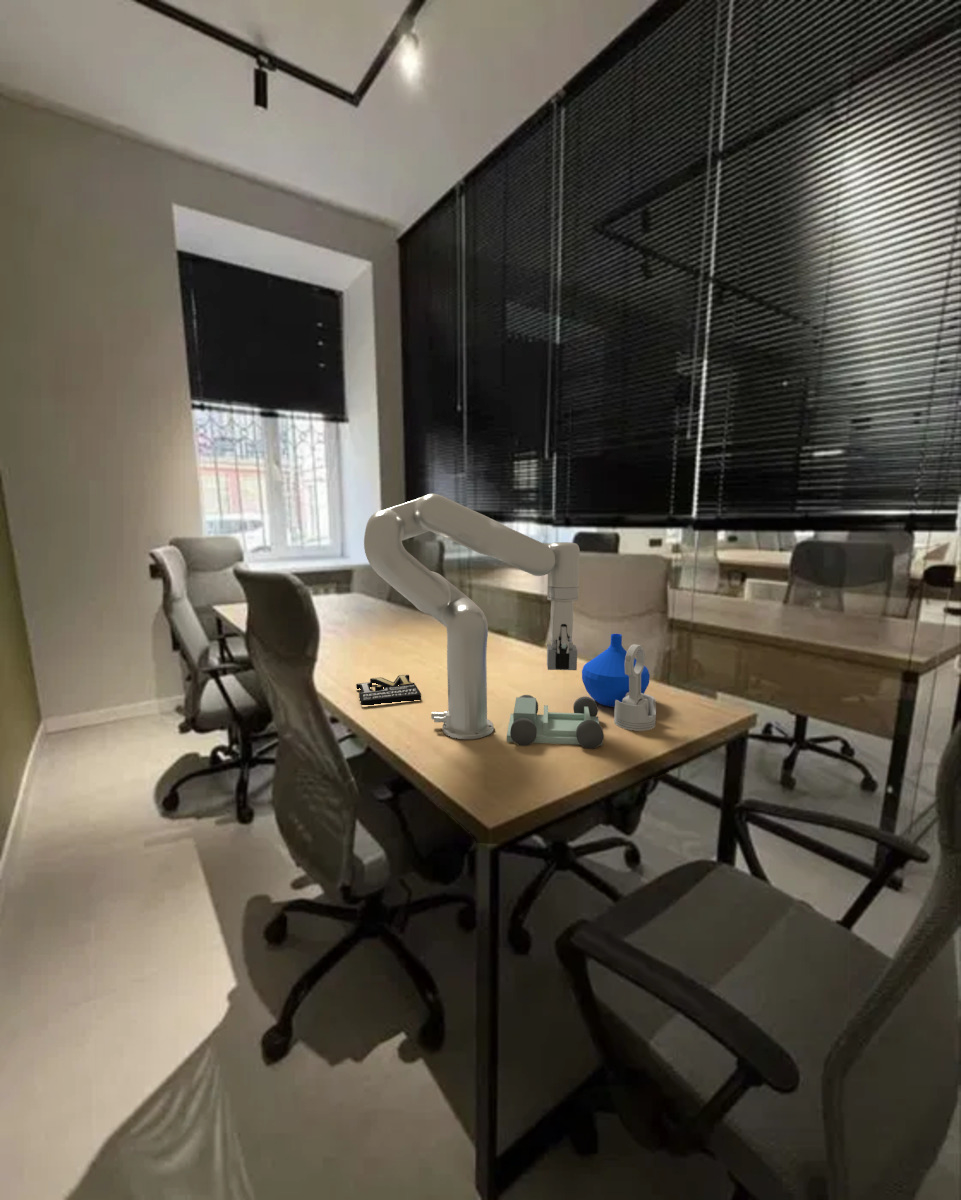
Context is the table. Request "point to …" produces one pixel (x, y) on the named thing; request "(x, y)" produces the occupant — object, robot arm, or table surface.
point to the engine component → (635, 696)
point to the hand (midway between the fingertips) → (561, 664)
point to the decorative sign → (388, 691)
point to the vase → (610, 674)
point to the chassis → (555, 724)
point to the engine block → (552, 656)
